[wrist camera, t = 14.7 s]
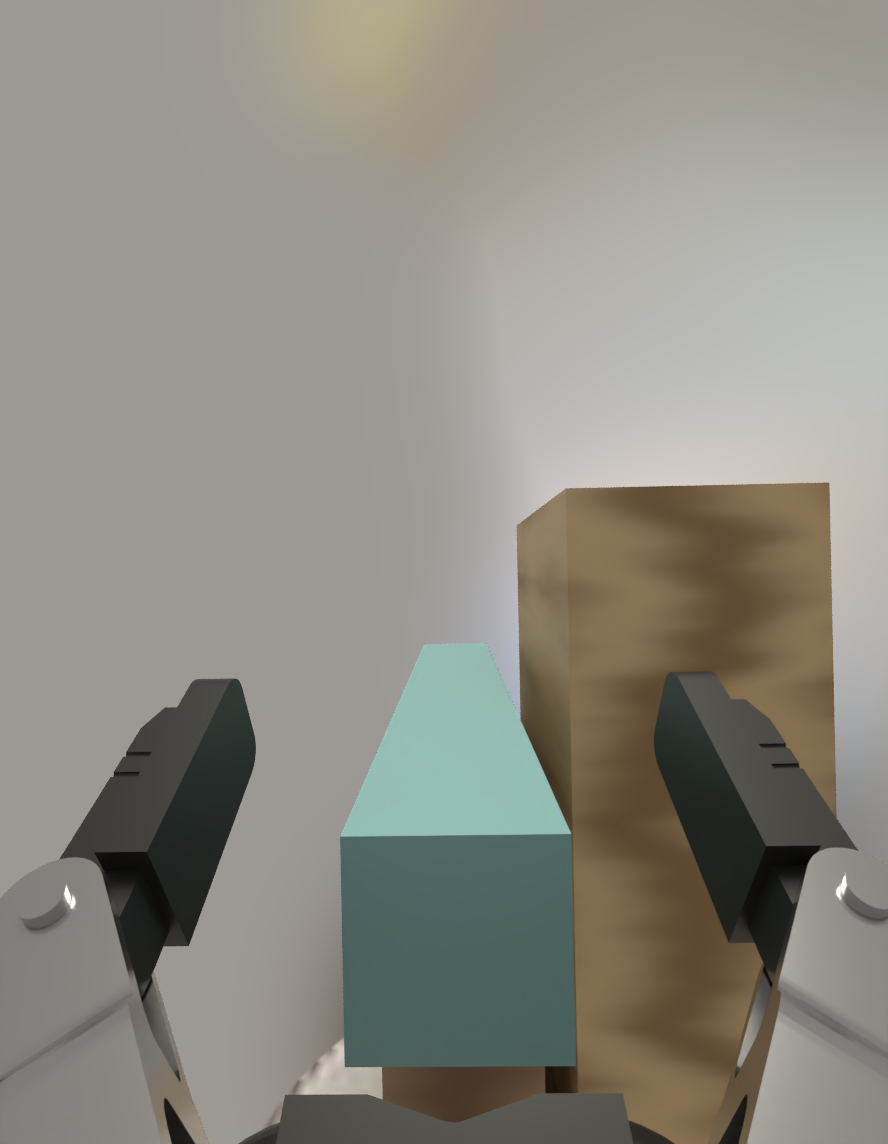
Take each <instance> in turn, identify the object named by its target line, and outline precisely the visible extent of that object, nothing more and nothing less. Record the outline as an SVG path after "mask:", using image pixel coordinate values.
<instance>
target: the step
mask: <svg viewBox="0 0 888 1144" xmlns="http://www.w3.org/2000/svg"><path fill="white" fill-rule="evenodd" d="M382 1082H383V1100H385V1101H388V1102H390V1103H393V1104H396V1105H399V1106H402V1107H405V1108H408V1109H411V1110H414V1111H416V1112H419V1113H422V1114H425V1115H428V1116H431V1117H434V1118H437V1119H440V1120H442V1121H446V1122H460V1121H464V1120H467V1119H470V1118H472V1117H475V1116H478V1115H481V1114H483V1113H486V1112H489V1111H492V1110H495V1109H497V1108H500V1107H503V1106H506V1105H509V1104H511V1103H514V1102H517V1101H520V1100H523V1099H525V1098H528V1097H531V1096H534V1095H536V1094H540V1093H545V1066H488V1067H382Z"/></svg>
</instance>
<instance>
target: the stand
mask: <svg viewBox="0 0 888 1144" xmlns="http://www.w3.org/2000/svg"><path fill="white" fill-rule="evenodd" d="M829 496H830V495H829V483H793V484H748V485H703V486H663V487H662V486H660V487H659V486H658V487H616V488H615V487H614V488H575V489H574V488H570V489H565V490H563V491H562V492H561V493H559V494H558V495H557V496H555V497H554V498H553V499H551V500H550V501H549V502H547V503H546V504H545V505H543V506H542V507H541V508H539V509H538V510H537V511H535V512H534V513H533V514H532V515H530V516H529V517H528V518H526V519H525V520H524V521H522V522H521V523H520V524H518V525H517V560H518V602H519V603H518V606H519V607H518V608H519V609H518V610H519V657H520V709H521V722H522V724H523V727H524V729H525V731H526V733H527V736H528V738H529V740H530V742H531V745H532V747H533V749H534V751H535V754H536V756H537V758H538V760H539V763H540V765H541V767H542V769H543V772H544V774H545V776H546V778H547V781H548V783H549V785H550V787H551V790H552V792H553V794H554V796H555V799H556V801H557V803H558V805H559V808H560V810H561V812H562V814H563V817H564V819H565V821H566V823H567V826H568V828H569V830H570V832H571V848H572V897H573V946H574V994H575V1043H576V1066H545V1093H623V1097H624V1101H625V1106H626V1111H627V1116H628V1120H629V1121H632V1122H635V1123H638V1124H640V1125H642V1126H644V1127H646V1128H648V1129H650V1130H652V1131H654V1132H656V1133H658V1134H660V1135H662V1136H664V1137H666V1138H667V1139H669V1140H670V1141H672V1142H673V1143H675V1144H708V1141H709V1138H710V1135H711V1132H712V1129H713V1126H714V1123H715V1120H716V1117H717V1114H718V1112H719V1109H720V1106H721V1104H722V1101H723V1098H724V1095H725V1092H726V1089H727V1085H728V1082H729V1078H730V1075H731V1071H732V1068H733V1064H734V1060H735V1057H736V1053H737V1050H738V1046H739V1042H740V1039H741V1035H742V1032H743V1028H744V1024H745V1021H746V1017H747V1013H748V1010H749V1006H750V1003H751V999H752V995H753V992H754V988H755V985H756V981H757V977H758V974H759V971H760V968H761V966H762V964H763V961H762V959H761V957H760V954H759V952H758V950H757V947H756V945H755V943H728V940H727V938H726V935H725V933H724V930H723V928H722V925H721V923H720V920H719V918H718V915H717V913H716V910H715V908H714V905H713V903H712V900H711V898H710V895H709V893H708V890H707V888H706V885H705V883H704V880H703V878H702V875H701V872H700V870H699V867H698V865H697V862H696V860H695V857H694V855H693V852H692V850H691V847H690V845H689V842H688V840H687V837H686V835H685V832H684V830H683V827H682V825H681V822H680V820H679V817H678V815H677V812H676V810H675V807H674V805H673V802H672V800H671V797H670V795H669V792H668V790H667V787H666V785H665V782H664V780H663V777H662V775H661V772H660V770H659V767H658V764H657V761H656V756H655V750H654V731H655V726H656V721H657V716H658V711H659V707H660V702H661V697H662V692H663V687H664V682H665V679H666V676H667V675H668V673H669V672H696V671H711V672H713V673H715V674H716V675H717V677H718V678H719V680H720V682H721V683H722V685H723V686H724V688H725V690H726V691H727V693H728V695H729V696H730V698H731V699H745V700H747V701H748V702H749V703H750V704H752V705H753V706H754V707H755V708H757V709H758V710H759V711H760V712H762V713H763V714H764V715H765V716H767V717H768V718H769V719H770V720H771V721H772V723H773V724H774V726H775V727H776V729H777V730H778V732H779V733H780V735H781V736H782V738H783V739H784V741H785V742H786V747H787V748H790V750H791V751H792V753H793V754H794V756H795V757H796V759H797V760H798V762H799V766H800V768H803V769H804V771H805V772H806V774H807V775H808V777H809V778H810V780H811V781H812V783H813V784H814V786H815V787H816V789H817V790H818V792H819V793H820V795H821V796H822V798H823V799H824V801H825V802H826V804H827V805H828V807H829V808H830V810H831V811H832V813H833V814H834V816H835V817H836V774H835V727H834V682H833V637H832V636H833V635H832V589H831V545H830V544H831V543H830V497H829Z"/></svg>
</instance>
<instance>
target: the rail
mask: <svg viewBox="0 0 888 1144" xmlns="http://www.w3.org/2000/svg"><path fill="white" fill-rule="evenodd" d="M340 846H341V895H342V948H343V997H344V998H343V999H344V1050H345V1067H488V1066H576V1043H575V994H574V946H573V897H572V848H571V832H570V830H569V828H568V826H567V823H566V821H565V819H564V817H563V814H562V812H561V810H560V808H559V805H558V803H557V801H556V799H555V796H554V794H553V792H552V790H551V787H550V785H549V783H548V781H547V778H546V776H545V774H544V772H543V769H542V767H541V765H540V763H539V760H538V758H537V756H536V754H535V751H534V749H533V747H532V745H531V742H530V740H529V738H528V736H527V733H526V731H525V729H524V727H523V724H522V722H521V720H520V718H519V715H518V713H517V711H516V709H515V707H514V704H513V702H512V700H511V697H510V695H509V693H508V691H507V688H506V686H505V684H504V682H503V680H502V677H501V675H500V673H499V671H498V668H497V666H496V664H495V662H494V659H493V657H492V655H491V653H490V651H489V648H488V646H487V644H486V643H483V644H482V643H478V644H424V646H423V648H422V651H421V653H420V655H419V657H418V660H417V662H416V664H415V667H414V669H413V671H412V673H411V676H410V678H409V680H408V683H407V685H406V687H405V690H404V692H403V694H402V697H401V699H400V701H399V703H398V706H397V708H396V710H395V712H394V715H393V717H392V719H391V722H390V724H389V726H388V728H387V731H386V733H385V735H384V738H383V740H382V742H381V745H380V747H379V749H378V751H377V754H376V756H375V758H374V761H373V763H372V765H371V767H370V770H369V772H368V774H367V777H366V779H365V781H364V783H363V786H362V788H361V790H360V793H359V795H358V797H357V800H356V802H355V804H354V806H353V809H352V811H351V813H350V816H349V818H348V820H347V823H346V825H345V827H344V829H343V832H342V834H341V836H340Z"/></svg>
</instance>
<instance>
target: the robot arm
mask: <svg viewBox="0 0 888 1144" xmlns="http://www.w3.org/2000/svg"><path fill="white" fill-rule="evenodd" d="M654 750H655V756H656V761H657V764H658V767H659V770H660V772H661V775H662V777H663V780H664V782H665V785H666V787H667V790H668V792H669V795H670V797H671V800H672V802H673V805H674V807H675V810H676V812H677V815H678V817H679V820H680V822H681V825H682V827H683V830H684V832H685V835H686V837H687V840H688V842H689V845H690V847H691V850H692V852H693V855H694V857H695V860H696V862H697V865H698V867H699V870H700V872H701V875H702V878H703V880H704V883H705V885H706V888H707V890H708V893H709V895H710V898H711V900H712V903H713V905H714V908H715V910H716V913H717V915H718V918H719V920H720V923H721V925H722V928H723V930H724V933H725V935H726V938H727V940H728V943H755V945H756V947H757V950H758V952H759V954H760V957H761V959H762V961H763V964H762V966H761V968H760V971H759V974H758V977H757V981H756V985H755V988H754V992H753V995H752V999H751V1003H750V1006H749V1010H748V1013H747V1017H746V1021H745V1024H744V1028H743V1032H742V1035H741V1039H740V1042H739V1046H738V1050H737V1053H736V1057H735V1060H734V1064H733V1068H732V1071H731V1075H730V1078H729V1082H728V1085H727V1089H726V1092H725V1095H724V1098H723V1101H722V1104H721V1106H720V1109H719V1112H718V1114H717V1117H716V1120H715V1123H714V1126H713V1129H712V1132H711V1135H710V1138H709V1141H708V1144H888V865H887V864H886V863H884V862H883V861H880V860H879V859H877V858H875V857H873V856H871V855H868V854H866V853H863V852H860V851H858V849H857V848H856V847H855V845H854V844H853V843H852V841H851V839H850V838H849V837H848V835H847V833H846V832H845V831H844V829H843V828H842V826H841V825H840V823H839V822H838V820H837V819H836V817H835V816H834V814H833V813H832V811H831V810H830V808H829V807H828V805H827V804H826V802H825V801H824V799H823V798H822V796H821V795H820V793H819V792H818V790H817V789H816V787H815V786H814V784H813V783H812V781H811V780H810V778H809V777H808V775H807V774H806V772H805V771H804V769H803V768H800V766H799V762H798V760H797V759H796V757H795V756H794V754H793V753H792V751H791V750H790V748H787V747H786V742H785V741H784V739H783V738H782V736H781V735H780V733H779V732H778V730H777V729H776V727H775V726H774V724H773V723H772V721H771V720H770V719H769V718H768V717H767V716H765V715H764V714H763V713H762V712H760V711H759V710H758V709H757V708H755V707H754V706H753V705H752V704H750V703H749V702H748V701H747V700H745V699H731V698H730V696H729V695H728V693H727V691H726V690H725V688H724V686H723V685H722V683H721V682H720V680H719V678H718V677H717V675H716V674H715V673H713V672H711V671H696V672H669V673H668V675H667V676H666V679H665V682H664V687H663V692H662V697H661V702H660V707H659V711H658V716H657V721H656V726H655V731H654ZM255 753H256V744H255V736H254V732H253V728H252V724H251V720H250V716H249V713H248V709H247V705H246V701H245V697H244V693H243V690H242V686H241V684H240V682H239V680H237V679H197V680H195V681H193V682H192V683H191V685H190V686H189V688H188V690H187V691H186V693H185V695H184V697H183V698H182V700H181V702H180V704H179V705H178V707H176V708H164V709H163V710H162V711H161V712H159V713H158V714H157V715H156V716H155V717H154V718H152V719H151V720H150V721H149V722H148V723H147V724H146V725H144V726H143V727H142V728H141V729H140V731H139V732H138V734H137V736H136V737H135V739H134V741H133V742H132V744H131V745H130V747H129V749H128V750H127V752H126V757H123V758H122V760H121V762H120V763H119V765H118V766H117V768H116V769H115V771H114V777H111V778H110V779H109V781H108V782H107V784H106V785H105V787H104V789H103V790H102V792H101V794H100V795H99V797H98V798H97V800H96V802H95V803H94V805H93V807H92V808H91V810H90V811H89V813H88V814H87V816H86V818H85V819H84V821H83V823H82V824H81V826H80V827H79V829H78V830H77V832H76V834H75V835H74V837H73V839H72V840H71V842H70V843H69V845H68V847H67V848H66V850H65V851H64V853H63V854H62V856H61V857H60V859H59V860H56V861H53V862H50V863H48V864H46V865H43V866H41V867H39V868H37V869H35V870H34V871H32V872H30V873H29V874H27V875H26V876H24V877H23V878H21V879H20V880H19V881H18V882H16V883H15V884H14V885H13V886H12V887H11V888H10V889H9V890H8V891H7V892H6V893H5V894H4V895H3V896H2V897H1V899H0V1144H209V1141H208V1138H207V1136H206V1133H205V1130H204V1127H203V1125H202V1122H201V1120H200V1117H199V1115H198V1112H197V1110H196V1107H195V1105H194V1103H193V1100H192V1097H191V1094H190V1091H189V1088H188V1085H187V1082H186V1078H185V1075H184V1071H183V1068H182V1064H181V1061H180V1058H179V1054H178V1051H177V1048H176V1044H175V1041H174V1037H173V1034H172V1031H171V1027H170V1024H169V1021H168V1017H167V1014H166V1010H165V1007H164V1003H163V1000H162V997H161V993H160V990H159V986H158V983H157V980H156V977H155V975H154V972H153V970H154V968H155V966H156V963H157V960H158V958H159V956H160V953H161V950H162V948H163V946H189V944H190V941H191V938H192V936H193V933H194V930H195V927H196V925H197V922H198V919H199V916H200V913H201V911H202V908H203V905H204V903H205V900H206V897H207V894H208V892H209V889H210V886H211V883H212V881H213V878H214V875H215V872H216V870H217V866H218V864H219V861H220V858H221V856H222V853H223V850H224V848H225V845H226V842H227V839H228V837H229V834H230V831H231V828H232V826H233V823H234V820H235V817H236V815H237V812H238V809H239V806H240V803H241V801H242V798H243V795H244V792H245V790H246V787H247V784H248V782H249V779H250V776H251V773H252V770H253V767H254V762H255ZM239 1144H675V1143H673V1142H672V1141H670V1140H669V1139H667V1138H666V1137H664V1136H662V1135H660V1134H658V1133H656V1132H654V1131H652V1130H650V1129H648V1128H646V1127H644V1126H642V1125H640V1124H638V1123H635V1122H632V1121H629V1120H628V1116H627V1111H626V1106H625V1101H624V1097H623V1093H540V1094H536V1095H534V1096H531V1097H528V1098H525V1099H523V1100H520V1101H517V1102H514V1103H511V1104H509V1105H506V1106H503V1107H500V1108H497V1109H495V1110H492V1111H489V1112H486V1113H483V1114H481V1115H478V1116H475V1117H472V1118H470V1119H467V1120H464V1121H460V1122H446V1121H442V1120H440V1119H437V1118H434V1117H431V1116H428V1115H425V1114H422V1113H419V1112H416V1111H414V1110H411V1109H408V1108H405V1107H402V1106H399V1105H396V1104H393V1103H390V1102H388V1101H385V1100H382V1099H379V1098H376V1097H373V1096H370V1095H285V1099H284V1104H283V1109H282V1115H281V1120H280V1123H277V1124H275V1125H272V1126H269V1127H267V1128H265V1129H263V1130H261V1131H259V1132H258V1133H256V1134H254V1135H252V1136H250V1137H248V1138H246V1139H245V1140H243V1141H242V1142H240V1143H239Z"/></svg>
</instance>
